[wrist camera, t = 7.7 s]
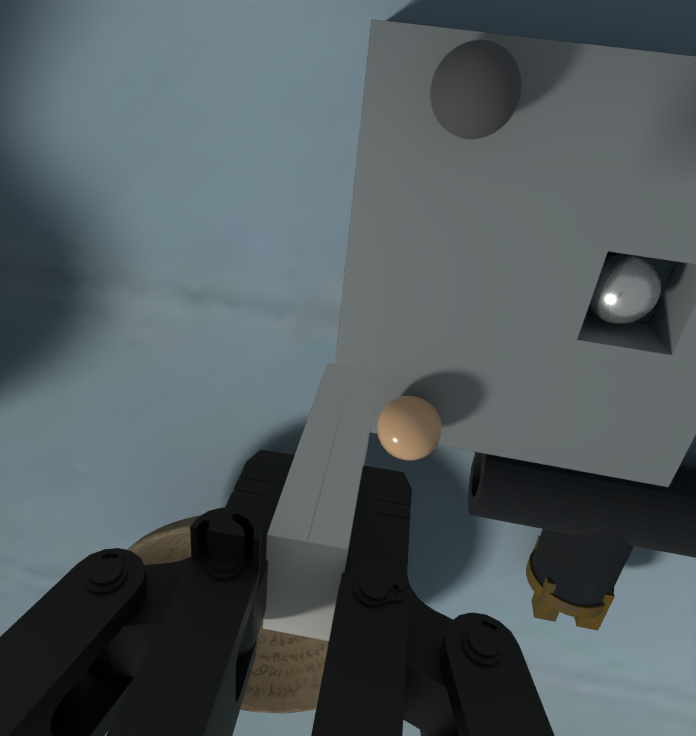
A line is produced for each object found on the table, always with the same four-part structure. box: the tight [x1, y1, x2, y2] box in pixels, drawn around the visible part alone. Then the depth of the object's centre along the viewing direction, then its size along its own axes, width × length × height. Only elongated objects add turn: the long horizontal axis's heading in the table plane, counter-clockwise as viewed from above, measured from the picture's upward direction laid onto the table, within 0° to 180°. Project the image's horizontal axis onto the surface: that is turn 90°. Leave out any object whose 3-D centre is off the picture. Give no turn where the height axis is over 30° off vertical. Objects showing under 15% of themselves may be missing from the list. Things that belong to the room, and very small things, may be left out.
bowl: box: [128, 516, 329, 713], centre depth 40 cm, size 18×18×8 cm
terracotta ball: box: [377, 396, 442, 461], centre depth 29 cm, size 3×3×3 cm
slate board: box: [335, 19, 696, 487], centre depth 28 cm, size 19×20×4 cm
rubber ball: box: [430, 40, 521, 139], centre depth 21 cm, size 3×3×3 cm
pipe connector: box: [468, 452, 696, 630], centre depth 35 cm, size 12×5×15 cm
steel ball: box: [589, 254, 661, 324], centre depth 28 cm, size 3×3×3 cm
